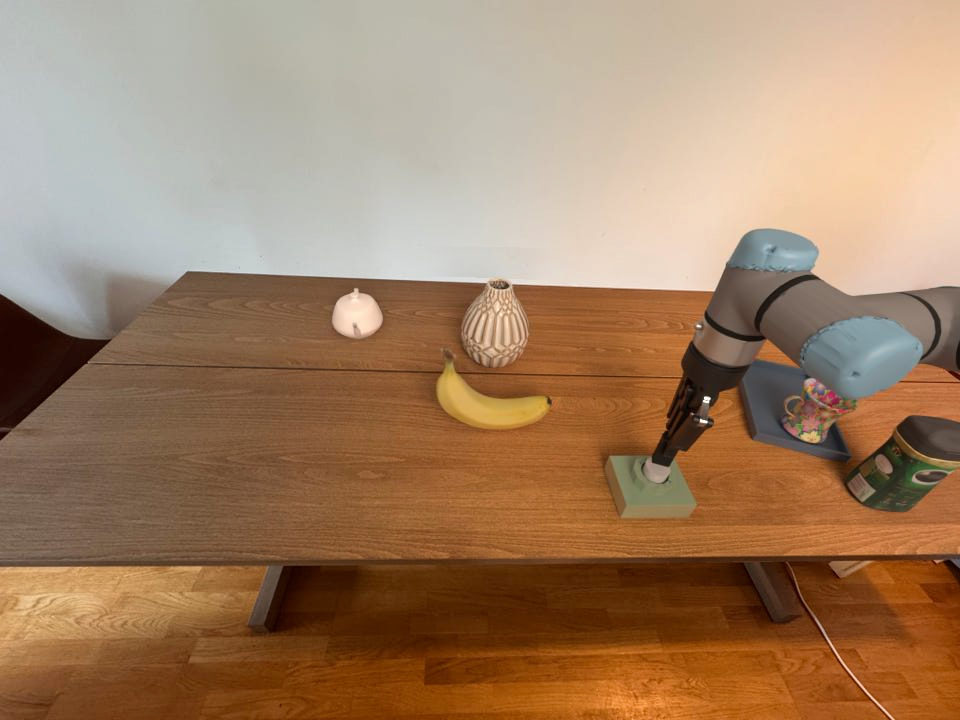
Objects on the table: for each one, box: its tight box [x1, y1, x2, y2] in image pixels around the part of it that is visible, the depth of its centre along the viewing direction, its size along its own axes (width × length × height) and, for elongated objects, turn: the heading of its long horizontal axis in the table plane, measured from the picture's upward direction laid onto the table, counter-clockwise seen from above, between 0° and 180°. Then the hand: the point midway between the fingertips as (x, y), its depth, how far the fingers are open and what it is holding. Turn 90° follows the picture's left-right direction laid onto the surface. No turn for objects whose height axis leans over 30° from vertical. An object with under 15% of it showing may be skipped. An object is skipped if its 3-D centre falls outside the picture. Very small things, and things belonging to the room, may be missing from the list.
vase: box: [460, 277, 531, 369], centre depth 96 cm, size 16×16×20 cm
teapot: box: [331, 287, 384, 340], centre depth 104 cm, size 20×12×10 cm, turn 12°
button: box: [642, 457, 671, 484], centre depth 71 cm, size 4×4×2 cm
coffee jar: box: [844, 414, 960, 513], centre depth 72 cm, size 10×8×19 cm
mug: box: [780, 378, 859, 443], centre depth 85 cm, size 12×9×11 cm
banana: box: [435, 346, 553, 431], centre depth 79 cm, size 23×6×20 cm, turn 95°
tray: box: [738, 357, 853, 464], centre depth 94 cm, size 27×17×2 cm, turn 163°
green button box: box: [603, 455, 698, 519], centre depth 73 cm, size 12×10×6 cm
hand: (660, 461), depth 69 cm, fingers closed
